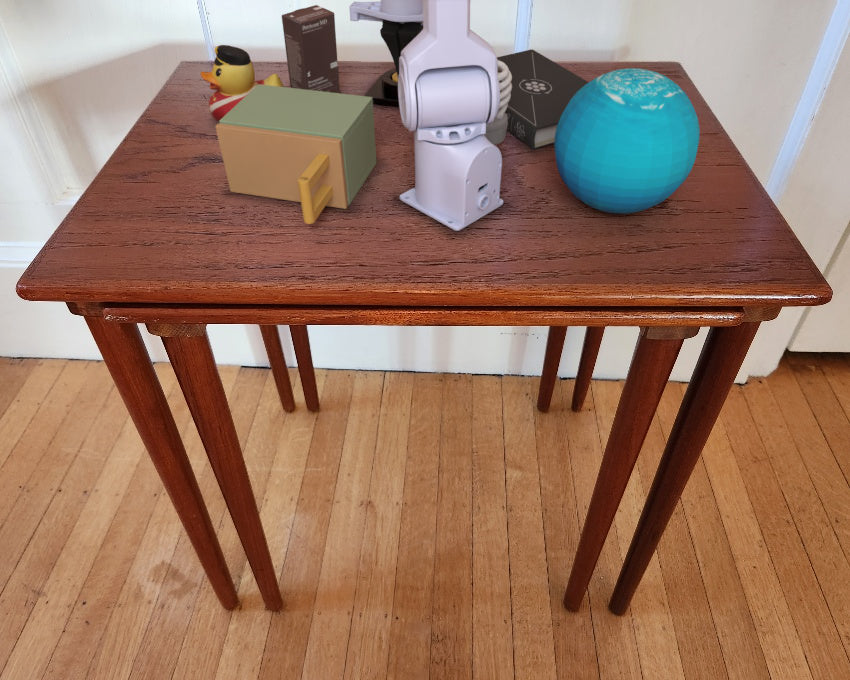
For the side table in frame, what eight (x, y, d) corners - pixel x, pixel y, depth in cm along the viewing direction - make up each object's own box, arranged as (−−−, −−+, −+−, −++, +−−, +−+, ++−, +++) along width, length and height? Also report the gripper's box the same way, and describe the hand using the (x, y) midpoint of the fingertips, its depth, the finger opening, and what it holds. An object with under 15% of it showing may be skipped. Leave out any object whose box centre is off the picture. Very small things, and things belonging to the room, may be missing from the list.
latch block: (444, 87, 101) (445, 69, 99) (430, 111, 96) (430, 91, 94) (381, 80, 103) (380, 62, 101) (363, 103, 98) (362, 84, 96)
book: (447, 88, 101) (448, 68, 99) (530, 68, 106) (532, 48, 104) (530, 150, 87) (533, 129, 85) (621, 124, 92) (625, 103, 90)
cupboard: (349, 205, 79) (342, 136, 73) (234, 188, 81) (219, 120, 75) (376, 163, 85) (372, 96, 80) (270, 148, 88) (258, 84, 82)
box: (310, 111, 96) (298, 22, 88) (291, 101, 98) (278, 14, 90) (343, 98, 99) (335, 11, 91) (324, 89, 101) (314, 3, 93)
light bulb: (456, 162, 85) (459, 66, 77) (468, 141, 89) (471, 48, 81) (501, 168, 84) (508, 72, 76) (510, 147, 88) (518, 53, 80)
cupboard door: (326, 239, 73) (317, 170, 68) (205, 220, 76) (186, 152, 71) (348, 205, 78) (341, 138, 73) (233, 188, 81) (218, 122, 75)
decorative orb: (534, 173, 83) (548, 48, 73) (653, 166, 84) (684, 42, 74) (563, 245, 73) (585, 111, 62) (700, 236, 73) (744, 103, 63)
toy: (208, 110, 97) (190, 38, 90) (282, 98, 99) (271, 27, 92) (217, 139, 90) (199, 64, 83) (296, 125, 93) (285, 51, 86)
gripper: (462, -33, 90) (460, 69, 99) (358, -41, 92) (365, 60, 102) (450, -17, 85) (448, 90, 94) (340, -25, 88) (349, 79, 97)
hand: (404, 75), depth 98 cm, fingers closed, pressing on button
